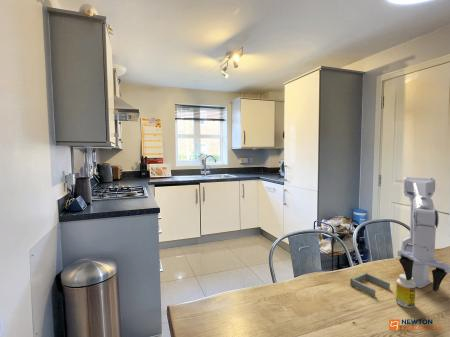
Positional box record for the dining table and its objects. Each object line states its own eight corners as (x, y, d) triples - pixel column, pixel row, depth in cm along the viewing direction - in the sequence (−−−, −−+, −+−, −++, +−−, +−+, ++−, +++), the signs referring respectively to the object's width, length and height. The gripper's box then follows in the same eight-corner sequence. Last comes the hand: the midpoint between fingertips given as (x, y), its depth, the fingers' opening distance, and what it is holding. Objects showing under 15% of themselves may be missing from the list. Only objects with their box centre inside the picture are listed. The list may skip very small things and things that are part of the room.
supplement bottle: (410, 310, 86) (412, 282, 85) (392, 302, 90) (393, 275, 90) (417, 305, 89) (418, 277, 88) (399, 297, 93) (400, 271, 93)
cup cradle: (365, 278, 108) (366, 272, 108) (389, 289, 99) (390, 283, 99) (350, 284, 103) (350, 278, 102) (374, 296, 94) (374, 290, 94)
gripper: (393, 240, 87) (392, 277, 88) (445, 255, 74) (442, 299, 75) (404, 236, 90) (403, 272, 91) (455, 250, 77) (453, 292, 78)
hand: (421, 284), depth 83 cm, fingers open, 7 cm apart
